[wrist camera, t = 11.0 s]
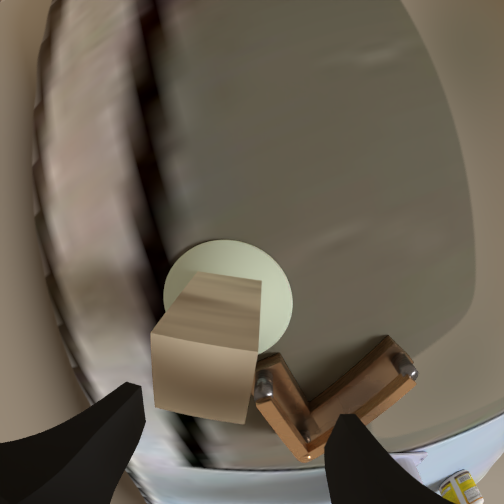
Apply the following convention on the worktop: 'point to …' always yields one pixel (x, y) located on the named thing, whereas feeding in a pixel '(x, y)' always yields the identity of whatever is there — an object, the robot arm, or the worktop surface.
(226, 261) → the pad
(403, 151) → the worktop surface
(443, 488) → the supplement bottle
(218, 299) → the birch handle block
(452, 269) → the worktop surface
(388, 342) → the copper rod course
